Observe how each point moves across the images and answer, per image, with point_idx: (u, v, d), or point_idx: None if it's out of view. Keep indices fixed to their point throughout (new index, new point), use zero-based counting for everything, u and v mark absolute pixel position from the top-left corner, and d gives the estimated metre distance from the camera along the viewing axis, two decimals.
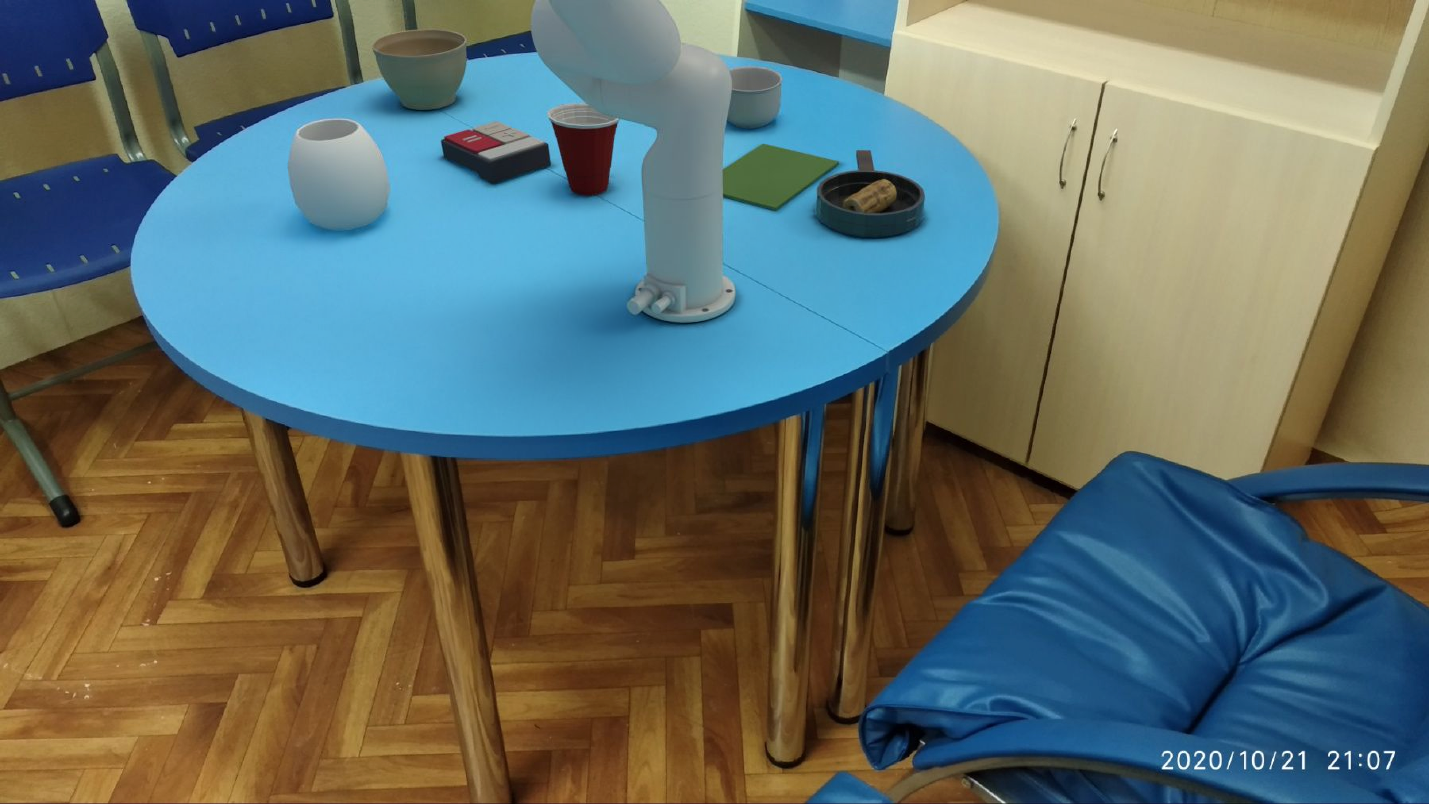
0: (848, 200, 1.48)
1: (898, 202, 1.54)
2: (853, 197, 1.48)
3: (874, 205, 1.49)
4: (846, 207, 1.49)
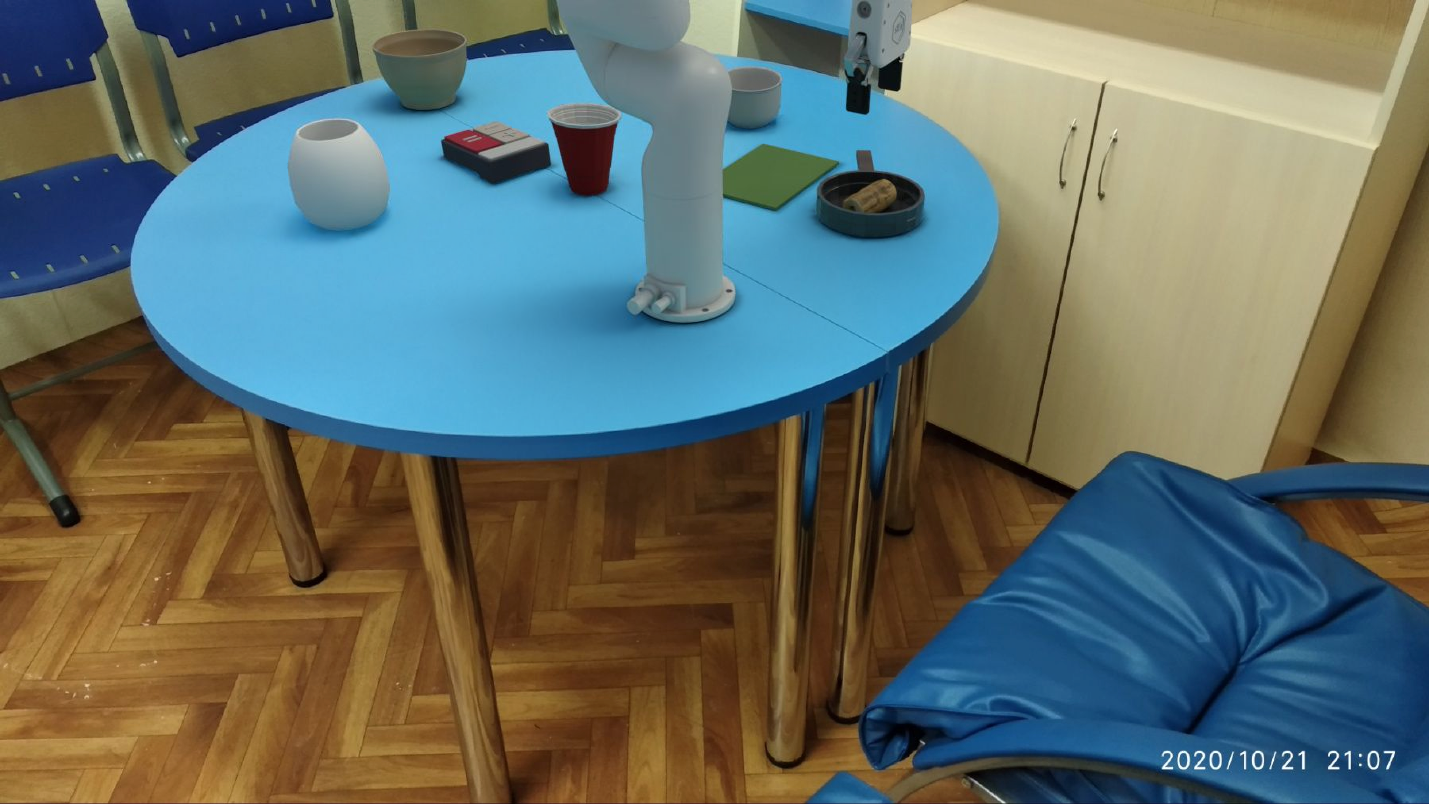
0: (848, 200, 1.48)
1: (898, 202, 1.54)
2: (853, 197, 1.48)
3: (874, 205, 1.49)
4: (846, 207, 1.49)
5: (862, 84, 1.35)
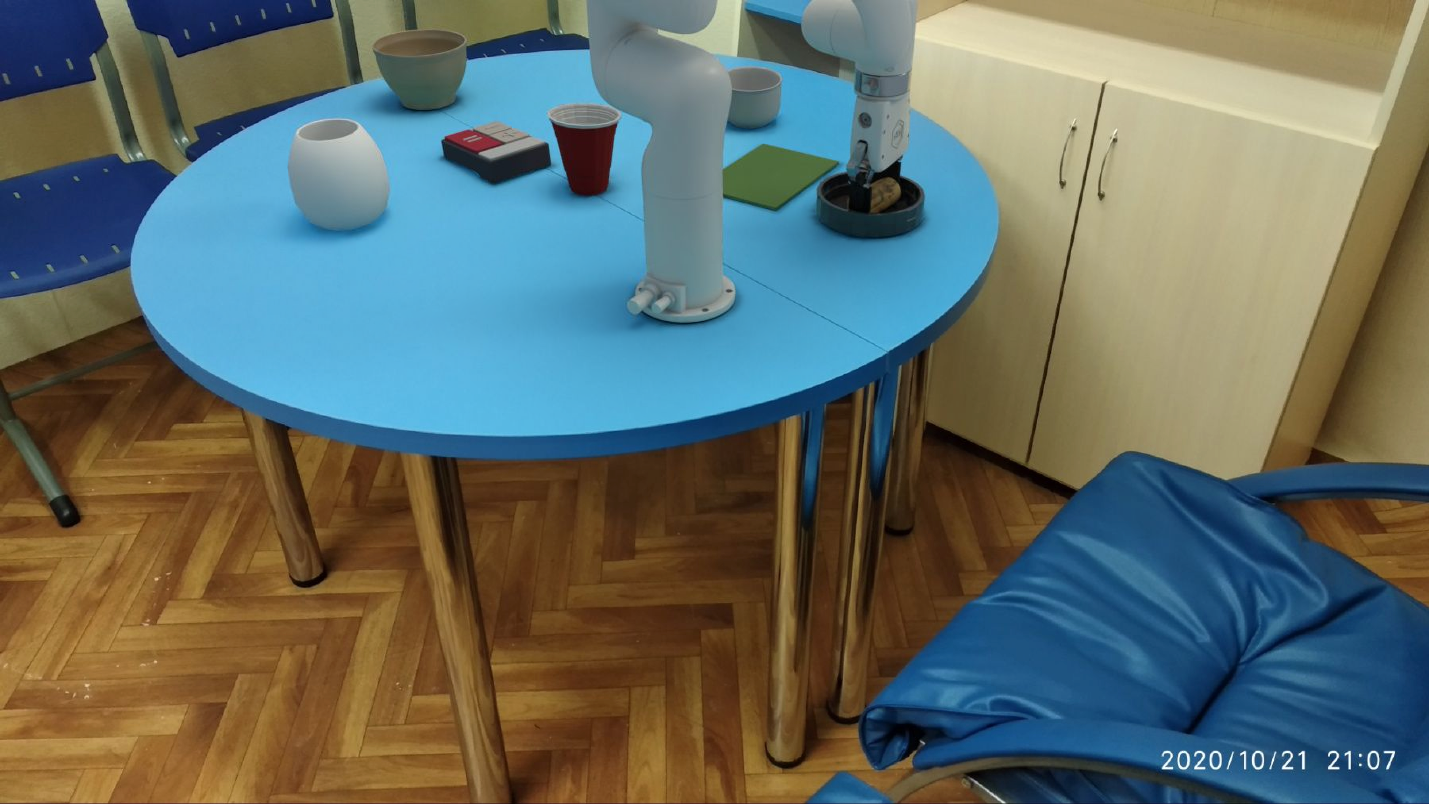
0: None
1: (898, 202, 1.54)
2: None
3: (878, 203, 1.49)
4: None
5: (864, 187, 1.44)
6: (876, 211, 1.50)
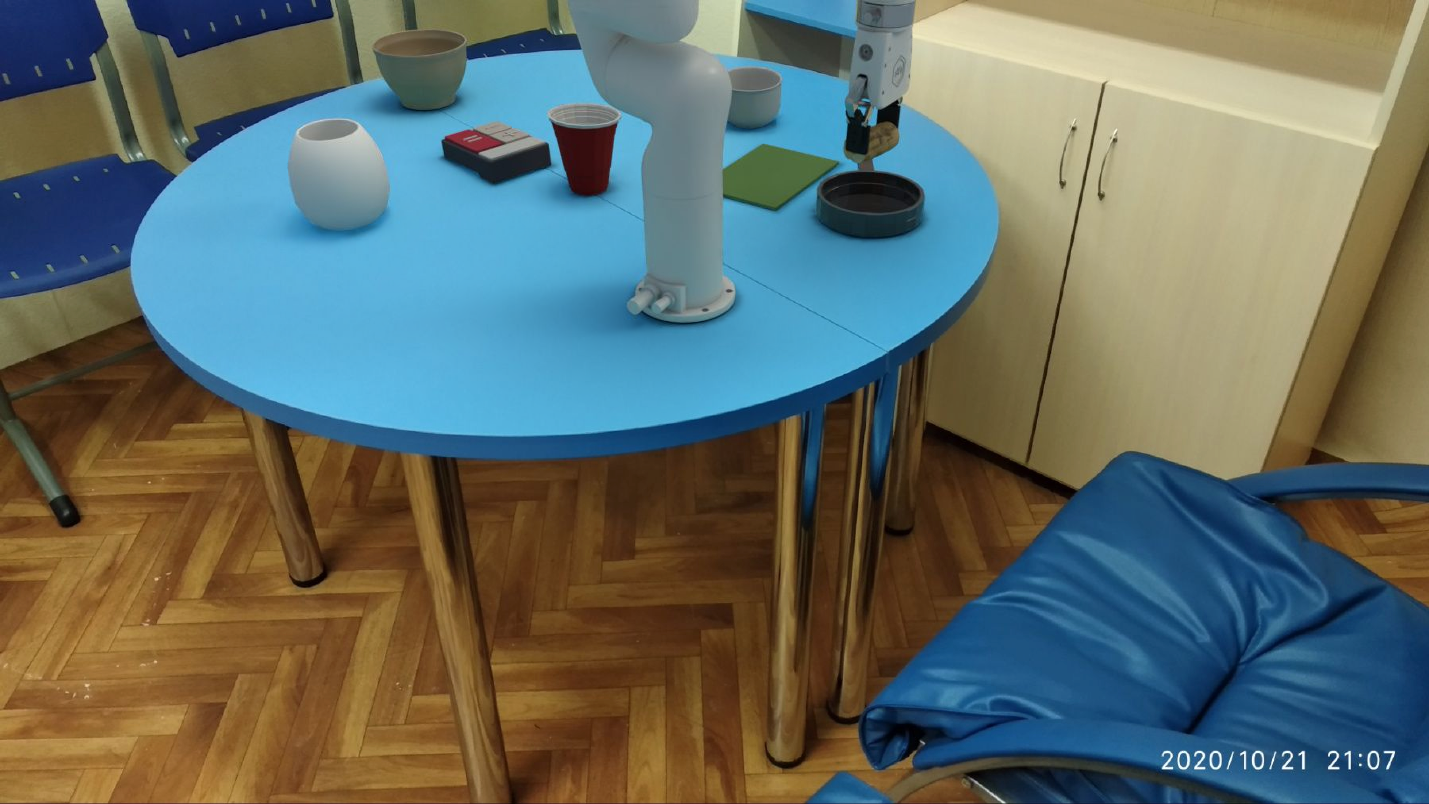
0: None
1: (898, 202, 1.54)
2: None
3: (876, 145, 1.43)
4: None
5: (863, 125, 1.38)
6: (874, 154, 1.43)
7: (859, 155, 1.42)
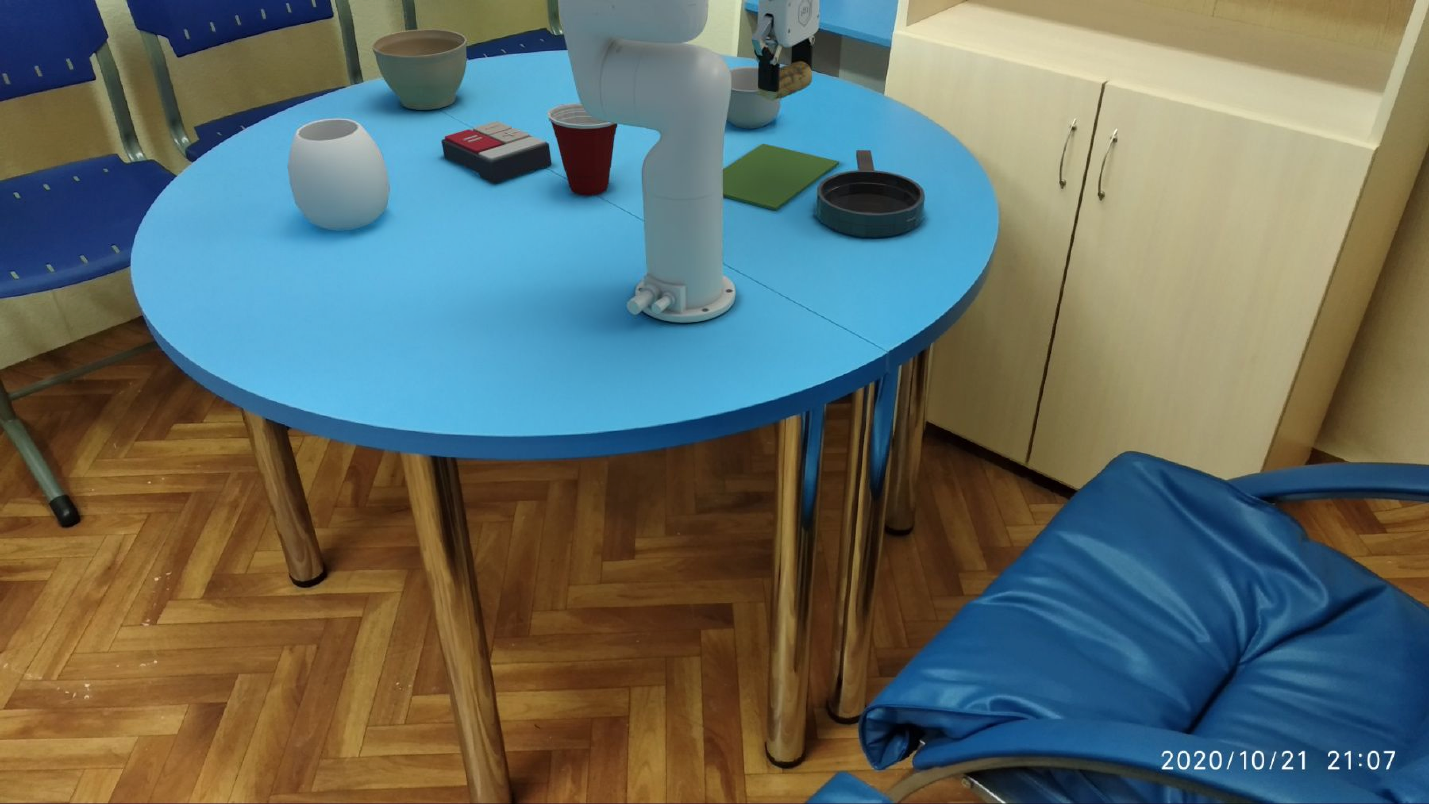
0: None
1: (898, 202, 1.54)
2: None
3: (788, 83, 1.50)
4: None
5: (771, 63, 1.45)
6: (786, 92, 1.51)
7: (771, 93, 1.50)
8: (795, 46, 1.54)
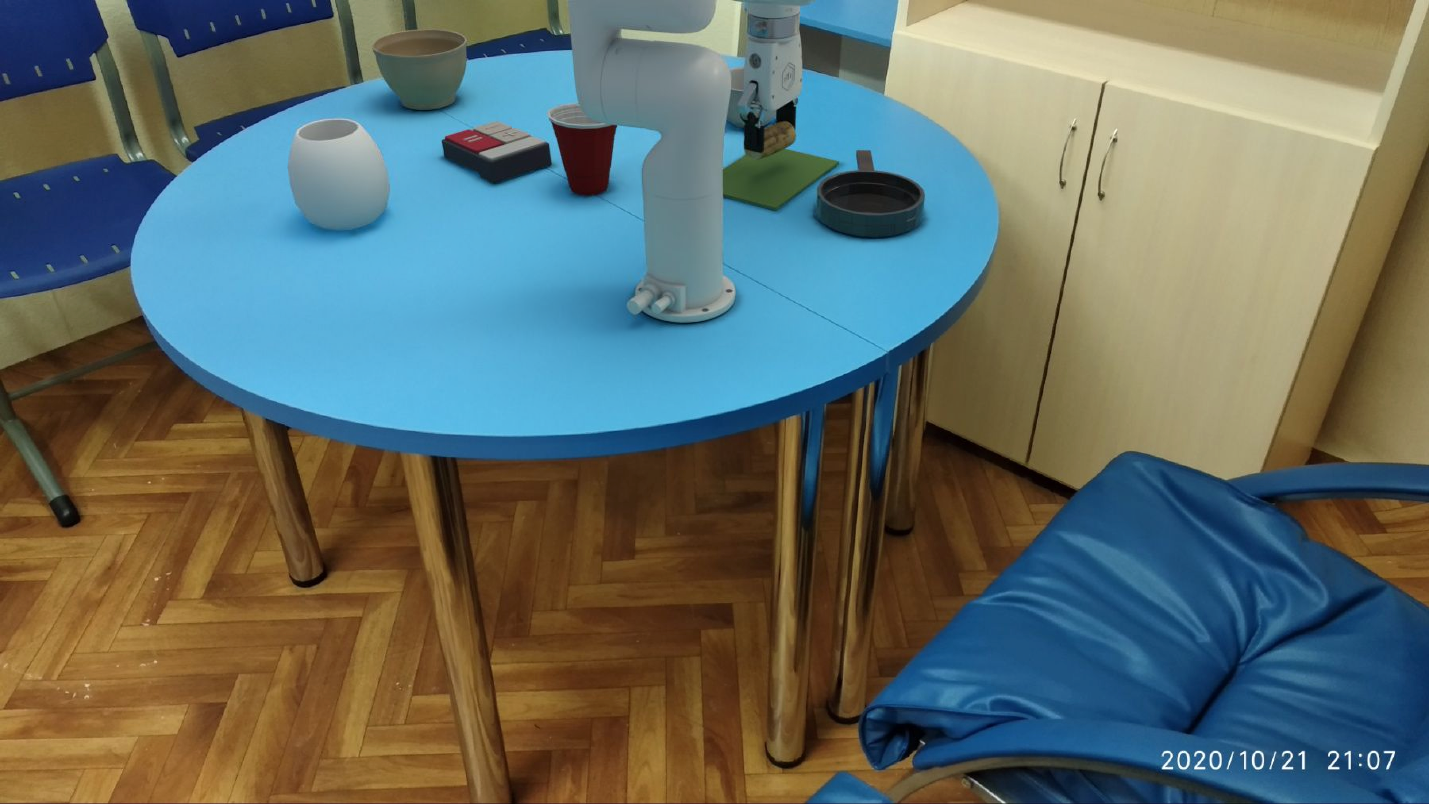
0: None
1: (898, 202, 1.54)
2: None
3: (773, 143, 1.58)
4: None
5: (756, 126, 1.53)
6: (771, 151, 1.58)
7: (757, 153, 1.57)
8: (779, 107, 1.61)
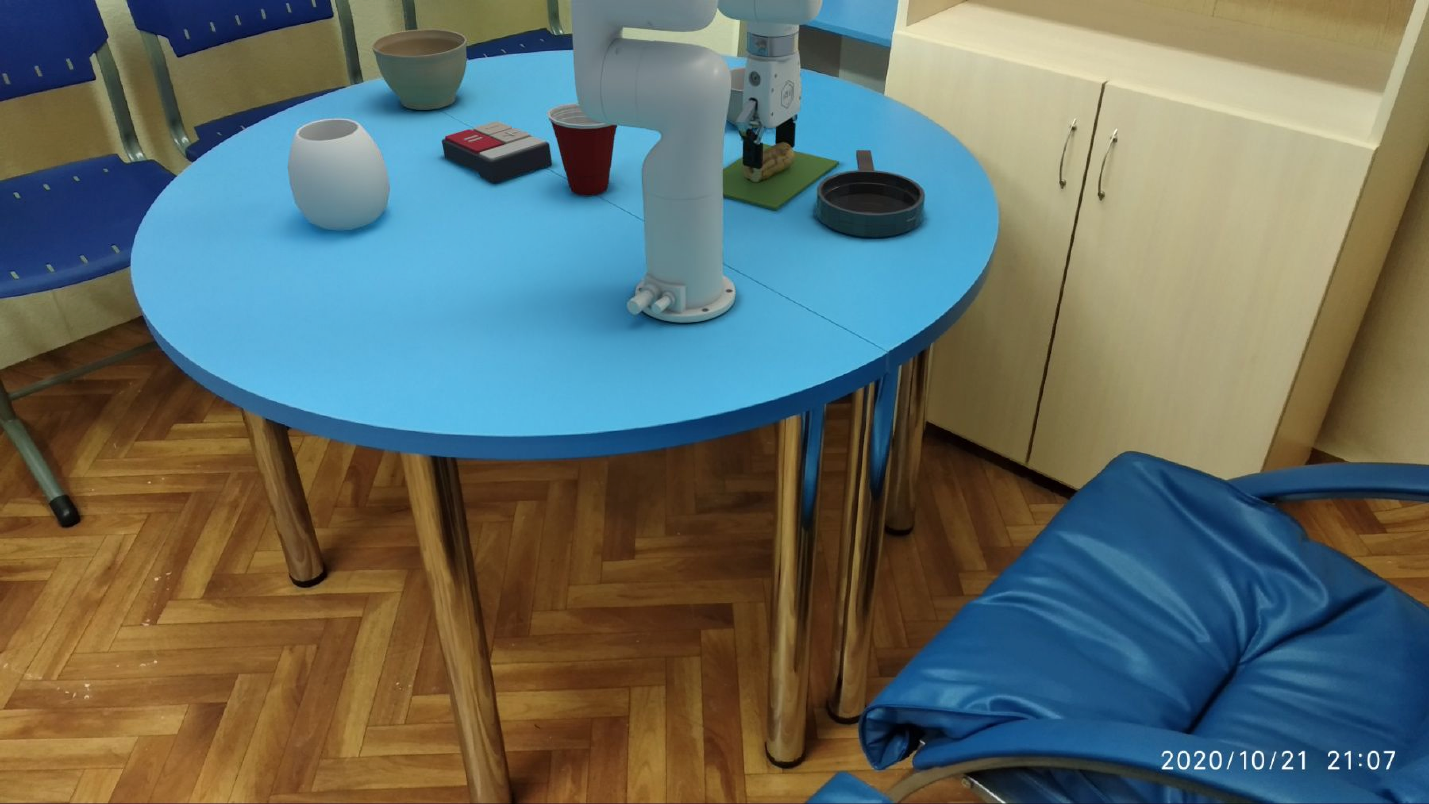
0: None
1: (898, 202, 1.54)
2: None
3: (772, 166, 1.60)
4: (746, 168, 1.60)
5: (755, 142, 1.54)
6: (770, 173, 1.60)
7: (756, 175, 1.59)
8: None
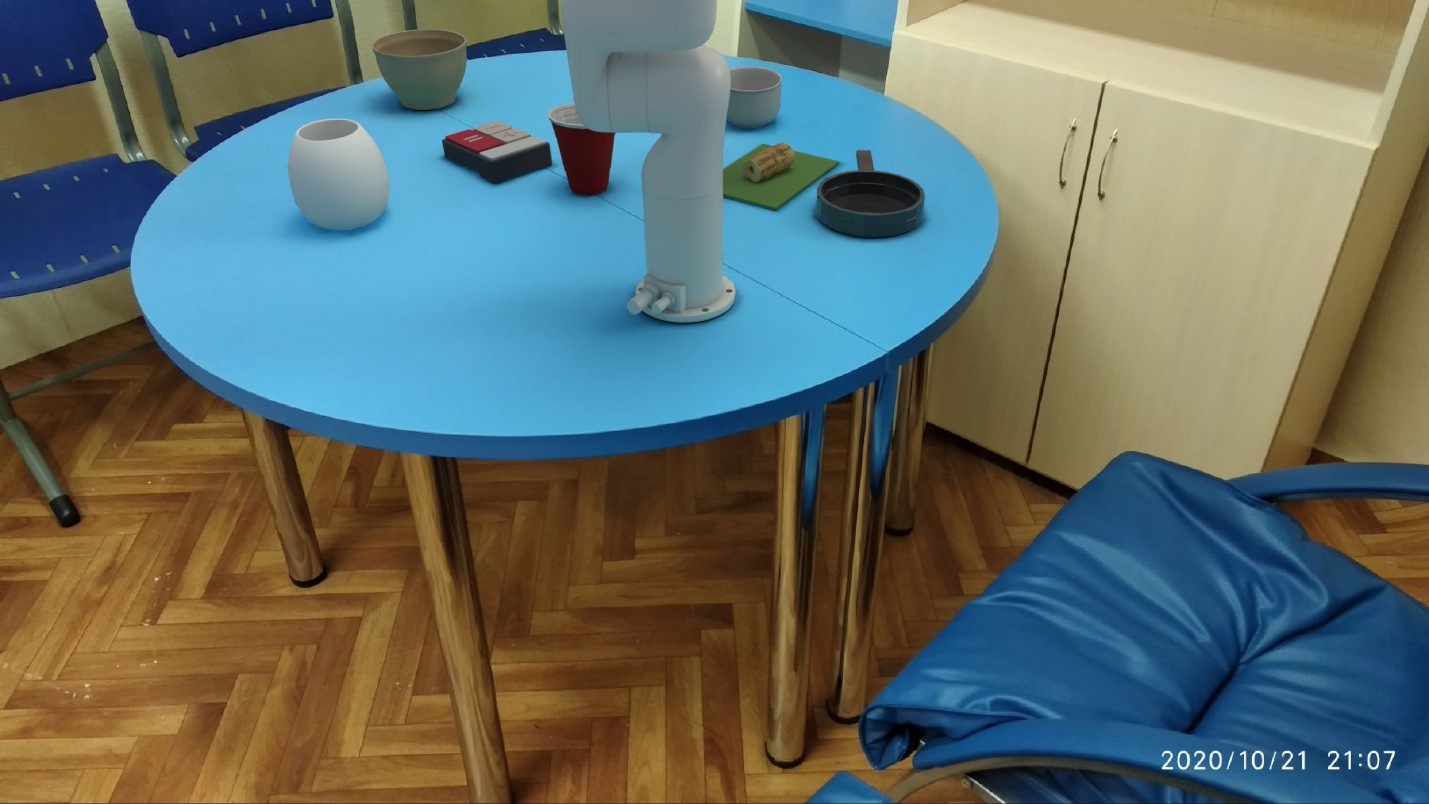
0: (747, 161, 1.59)
1: (898, 202, 1.54)
2: (751, 158, 1.59)
3: (772, 166, 1.60)
4: (746, 168, 1.60)
5: None
6: (770, 173, 1.60)
7: (756, 175, 1.59)
8: None
